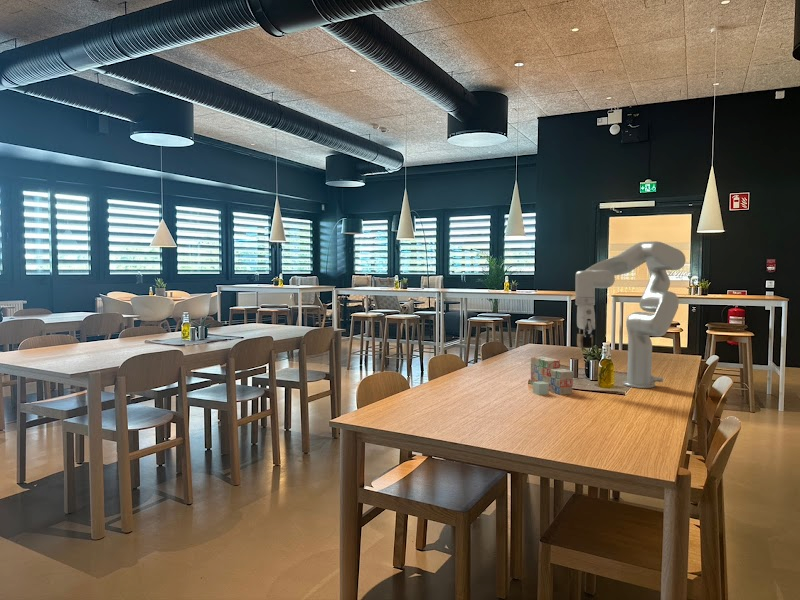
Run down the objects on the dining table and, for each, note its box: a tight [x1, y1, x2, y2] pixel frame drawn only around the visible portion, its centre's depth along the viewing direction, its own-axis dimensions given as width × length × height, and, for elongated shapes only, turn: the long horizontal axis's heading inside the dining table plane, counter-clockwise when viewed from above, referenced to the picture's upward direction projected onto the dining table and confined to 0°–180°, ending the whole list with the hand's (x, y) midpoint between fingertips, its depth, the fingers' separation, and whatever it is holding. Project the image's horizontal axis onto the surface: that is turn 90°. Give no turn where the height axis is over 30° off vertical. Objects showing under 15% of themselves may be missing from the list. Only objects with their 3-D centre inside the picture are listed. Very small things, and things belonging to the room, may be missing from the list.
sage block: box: [532, 381, 550, 396], centre depth 225 cm, size 4×4×4 cm
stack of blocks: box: [530, 356, 574, 396], centre depth 234 cm, size 21×6×12 cm, turn 19°
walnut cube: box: [576, 333, 594, 349], centre depth 229 cm, size 5×5×5 cm
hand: (585, 345), depth 229 cm, fingers closed on walnut cube, 5 cm apart
